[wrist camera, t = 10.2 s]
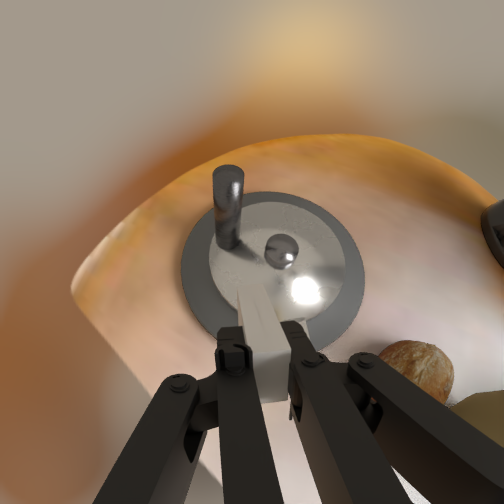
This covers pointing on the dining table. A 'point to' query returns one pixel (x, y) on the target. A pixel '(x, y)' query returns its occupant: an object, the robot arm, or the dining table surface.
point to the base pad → (221, 315)
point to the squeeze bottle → (484, 413)
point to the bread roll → (422, 366)
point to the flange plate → (282, 284)
